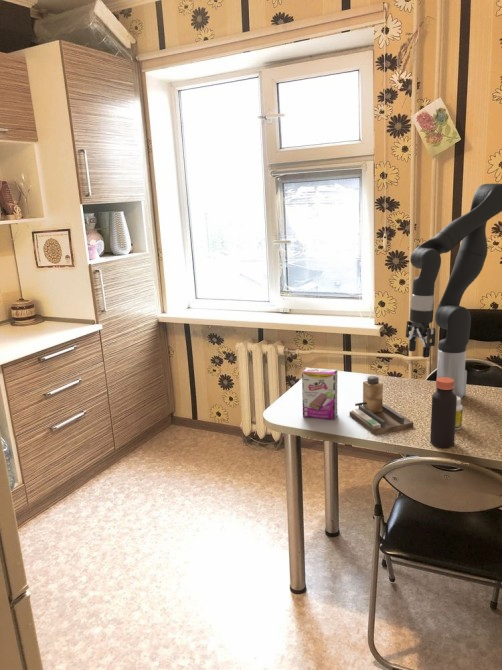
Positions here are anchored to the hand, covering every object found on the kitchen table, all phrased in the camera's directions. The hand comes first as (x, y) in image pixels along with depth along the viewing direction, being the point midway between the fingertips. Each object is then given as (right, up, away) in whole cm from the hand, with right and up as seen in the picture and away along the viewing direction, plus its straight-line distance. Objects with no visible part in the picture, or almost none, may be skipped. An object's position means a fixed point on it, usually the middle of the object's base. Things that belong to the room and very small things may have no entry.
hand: (418, 354), depth 191 cm
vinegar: (-1, -26, -26) cm, 37 cm away
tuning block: (-19, -19, -6) cm, 27 cm away
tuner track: (-15, -22, -9) cm, 28 cm away
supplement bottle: (+6, -23, -16) cm, 28 cm away
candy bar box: (-34, -21, -3) cm, 40 cm away
